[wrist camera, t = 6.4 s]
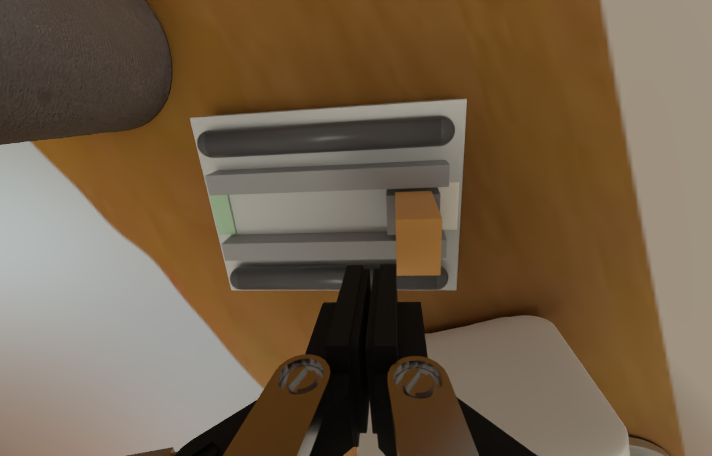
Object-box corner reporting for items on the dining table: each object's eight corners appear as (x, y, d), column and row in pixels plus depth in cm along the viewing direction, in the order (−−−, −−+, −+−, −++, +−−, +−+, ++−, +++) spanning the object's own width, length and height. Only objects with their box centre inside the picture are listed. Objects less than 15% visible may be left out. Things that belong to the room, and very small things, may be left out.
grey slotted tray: (449, 268, 25) (460, 304, 21) (248, 270, 27) (220, 303, 23) (456, 98, 20) (473, 99, 16) (214, 115, 22) (173, 119, 18)
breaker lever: (436, 228, 20) (451, 275, 15) (387, 229, 21) (386, 275, 15) (437, 184, 19) (454, 218, 14) (386, 186, 20) (384, 220, 14)
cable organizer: (552, 300, 25) (671, 454, 14) (569, 399, 28) (675, 583, 18) (367, 339, 28) (350, 488, 18) (401, 423, 32) (406, 591, 21)
